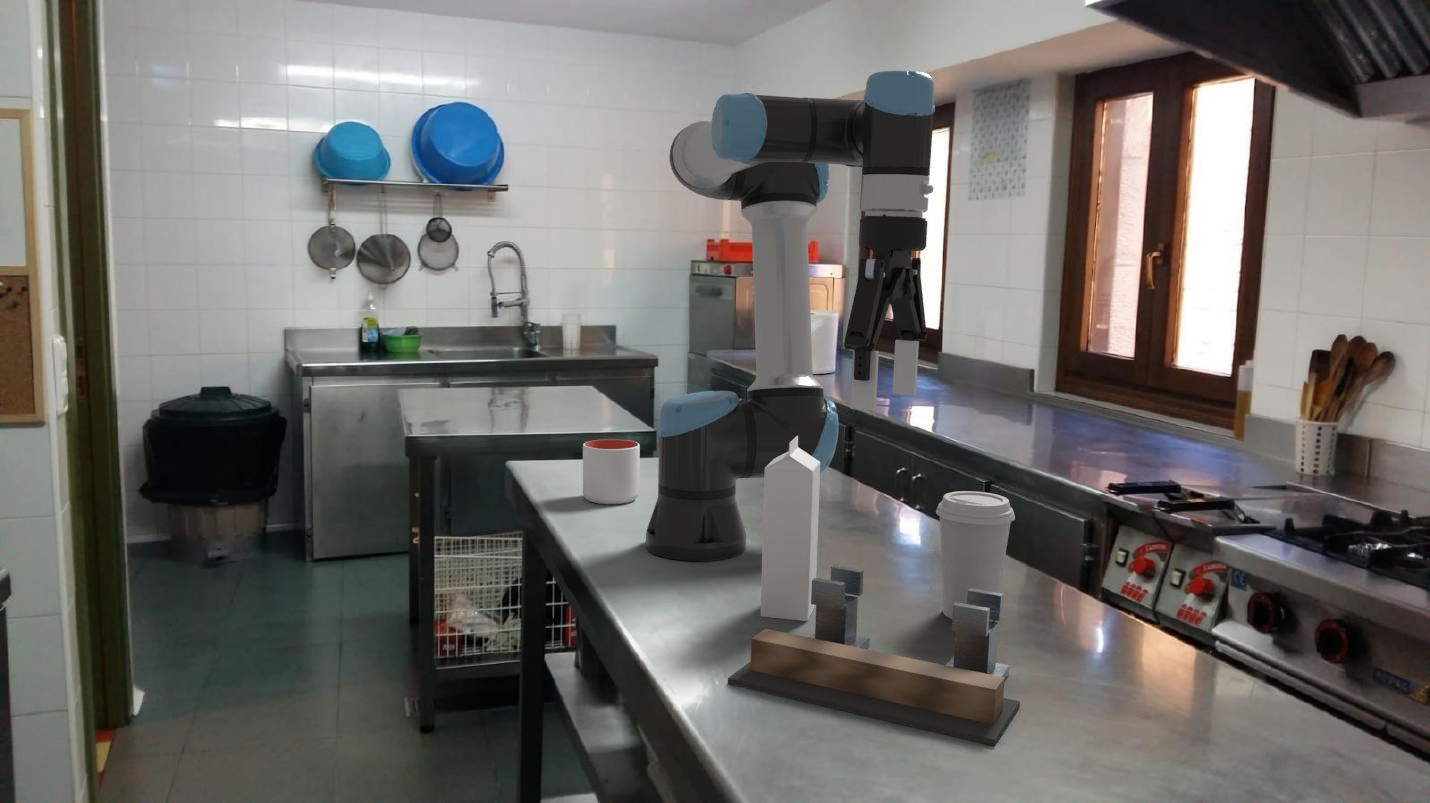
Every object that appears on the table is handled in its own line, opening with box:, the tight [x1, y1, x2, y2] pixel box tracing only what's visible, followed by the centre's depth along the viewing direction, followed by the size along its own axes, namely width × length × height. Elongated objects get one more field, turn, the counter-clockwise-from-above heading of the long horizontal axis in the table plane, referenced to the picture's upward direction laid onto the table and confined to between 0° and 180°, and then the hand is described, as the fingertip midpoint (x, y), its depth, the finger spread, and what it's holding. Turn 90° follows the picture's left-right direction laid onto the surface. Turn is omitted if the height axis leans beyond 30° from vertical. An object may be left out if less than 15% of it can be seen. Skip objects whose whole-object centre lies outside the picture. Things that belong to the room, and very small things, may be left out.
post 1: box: [809, 564, 871, 650], centre depth 125 cm, size 6×7×9 cm
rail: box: [750, 628, 1006, 725], centre depth 112 cm, size 26×4×4 cm, turn 62°
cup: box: [582, 438, 641, 505], centre depth 194 cm, size 10×10×10 cm
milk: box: [760, 436, 821, 622], centre depth 136 cm, size 6×6×22 cm
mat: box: [727, 661, 1021, 747], centre depth 113 cm, size 28×10×1 cm, turn 62°
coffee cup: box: [935, 490, 1016, 622], centre depth 137 cm, size 10×10×15 cm
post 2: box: [945, 588, 1010, 681], centre depth 117 cm, size 6×7×9 cm
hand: (884, 401), depth 127 cm, fingers open, 13 cm apart
